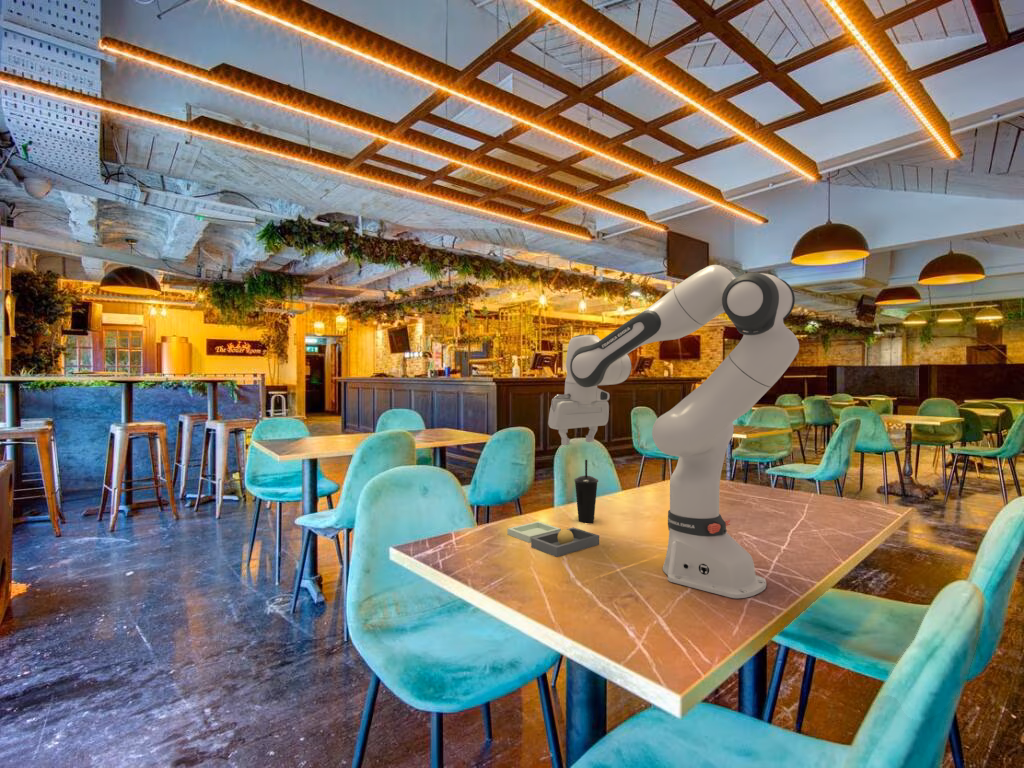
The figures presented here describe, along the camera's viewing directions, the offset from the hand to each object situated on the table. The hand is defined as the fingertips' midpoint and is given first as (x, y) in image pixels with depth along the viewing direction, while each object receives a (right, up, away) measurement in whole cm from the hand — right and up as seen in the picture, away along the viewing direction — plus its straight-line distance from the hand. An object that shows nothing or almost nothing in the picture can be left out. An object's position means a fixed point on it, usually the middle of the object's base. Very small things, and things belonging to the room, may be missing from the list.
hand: (577, 443), depth 142 cm
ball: (-4, -28, -3) cm, 28 cm away
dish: (-4, -28, -3) cm, 29 cm away
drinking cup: (+6, -28, +23) cm, 36 cm away
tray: (-12, -28, +8) cm, 31 cm away
